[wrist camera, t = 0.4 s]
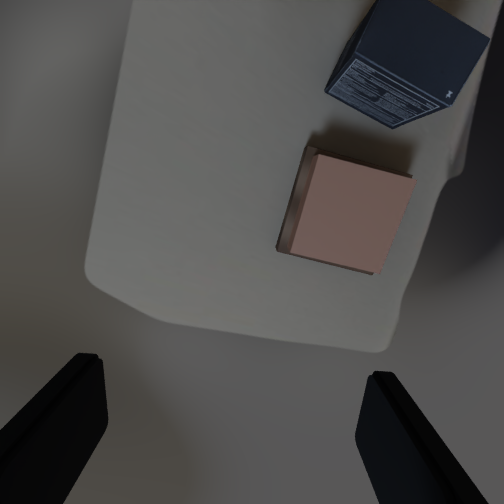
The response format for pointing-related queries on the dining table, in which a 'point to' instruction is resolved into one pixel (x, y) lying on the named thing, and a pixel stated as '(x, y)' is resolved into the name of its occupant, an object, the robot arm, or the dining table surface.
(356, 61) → the small box
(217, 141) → the dining table surface
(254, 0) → the dining table surface
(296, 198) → the walnut slab
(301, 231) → the terracotta slab
